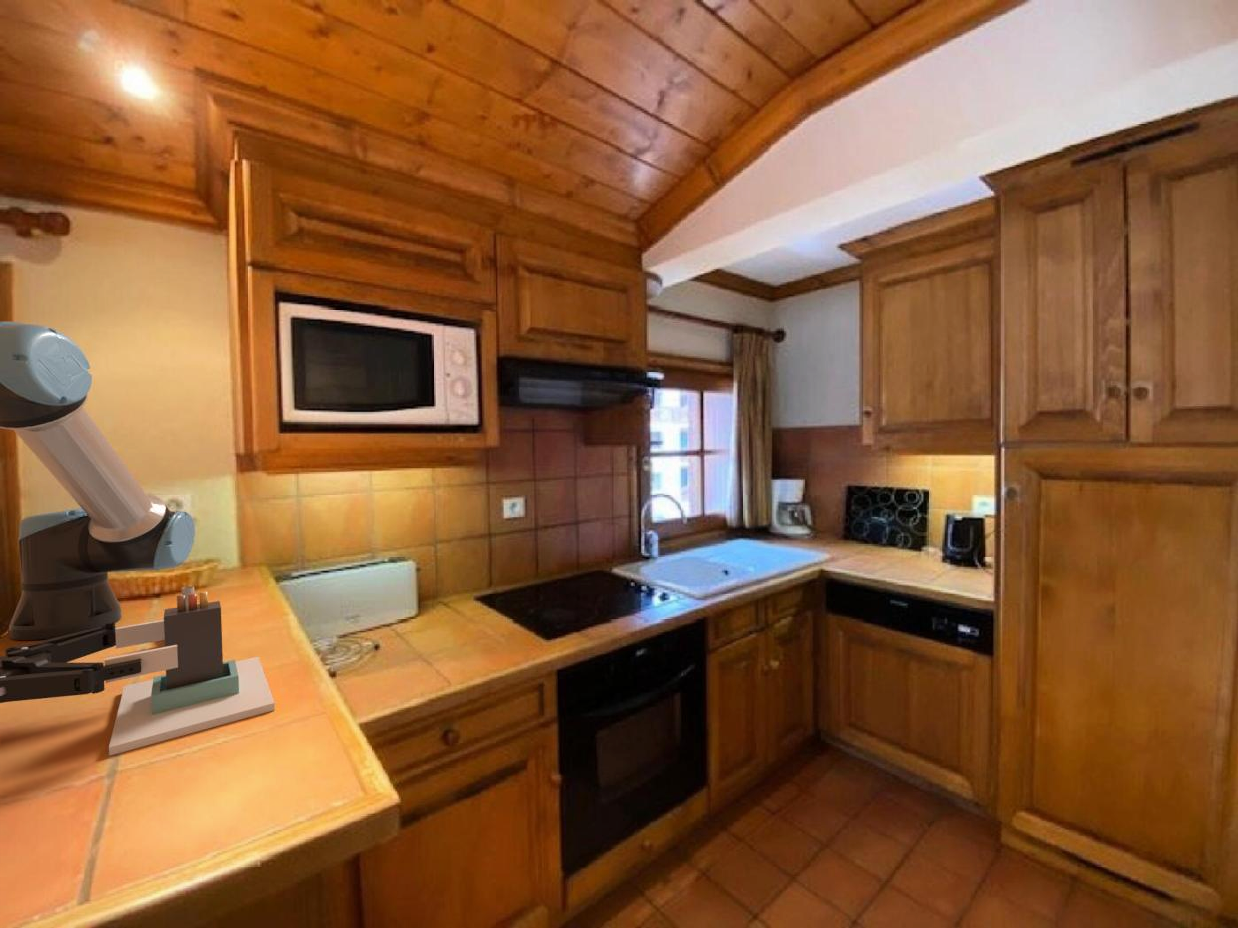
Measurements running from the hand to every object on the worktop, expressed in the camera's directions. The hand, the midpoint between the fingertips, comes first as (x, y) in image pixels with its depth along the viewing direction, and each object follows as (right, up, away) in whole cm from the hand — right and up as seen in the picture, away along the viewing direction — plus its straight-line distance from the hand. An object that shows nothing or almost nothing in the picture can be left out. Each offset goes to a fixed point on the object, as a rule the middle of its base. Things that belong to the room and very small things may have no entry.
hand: (178, 640), depth 71 cm
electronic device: (-22, -9, +28) cm, 37 cm away
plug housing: (+1, -8, +2) cm, 8 cm away
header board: (+1, -9, +2) cm, 9 cm away
